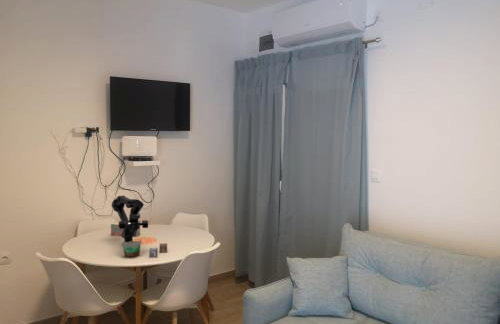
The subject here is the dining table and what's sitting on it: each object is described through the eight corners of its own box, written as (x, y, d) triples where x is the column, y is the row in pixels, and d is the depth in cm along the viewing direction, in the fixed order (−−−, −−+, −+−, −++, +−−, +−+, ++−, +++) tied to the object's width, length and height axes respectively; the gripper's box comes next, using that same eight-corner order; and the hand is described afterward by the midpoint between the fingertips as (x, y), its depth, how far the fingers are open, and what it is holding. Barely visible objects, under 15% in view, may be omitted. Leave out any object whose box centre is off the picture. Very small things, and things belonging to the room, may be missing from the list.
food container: (121, 258, 237) (121, 243, 237) (122, 255, 243) (122, 240, 243) (141, 257, 240) (141, 242, 239) (141, 254, 246) (141, 239, 245)
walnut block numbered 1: (159, 250, 255) (159, 243, 255) (167, 250, 256) (167, 243, 256) (159, 253, 250) (159, 245, 250) (166, 252, 251) (167, 245, 251)
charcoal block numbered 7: (149, 255, 245) (149, 247, 245) (157, 254, 246) (157, 247, 246) (149, 257, 240) (149, 250, 240) (157, 257, 241) (157, 249, 241)
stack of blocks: (110, 235, 288) (110, 220, 288) (114, 233, 295) (114, 218, 294) (137, 237, 286) (137, 221, 285) (140, 235, 293) (140, 219, 292)
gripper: (118, 209, 246) (116, 229, 236) (148, 208, 250) (147, 228, 240) (120, 218, 254) (118, 238, 244) (148, 217, 258) (147, 237, 248)
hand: (132, 235), depth 244 cm, fingers closed
